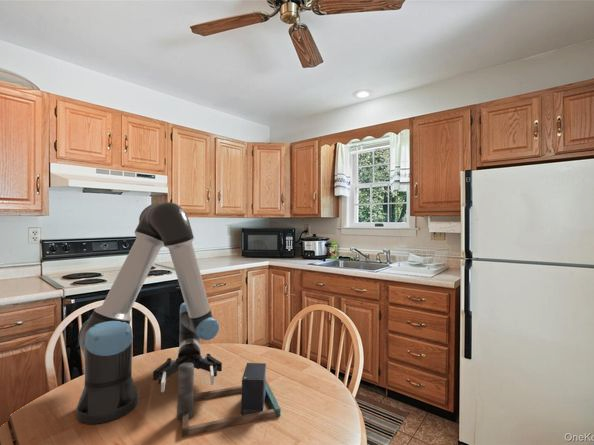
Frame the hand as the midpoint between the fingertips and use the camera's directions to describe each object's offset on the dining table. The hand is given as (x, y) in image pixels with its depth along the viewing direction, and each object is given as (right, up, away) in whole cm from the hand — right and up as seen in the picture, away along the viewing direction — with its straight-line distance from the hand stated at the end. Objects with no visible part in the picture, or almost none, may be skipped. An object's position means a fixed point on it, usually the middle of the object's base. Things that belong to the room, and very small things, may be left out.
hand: (188, 383), depth 88 cm
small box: (+19, -8, +2) cm, 21 cm away
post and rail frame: (+11, -7, 0) cm, 14 cm away
